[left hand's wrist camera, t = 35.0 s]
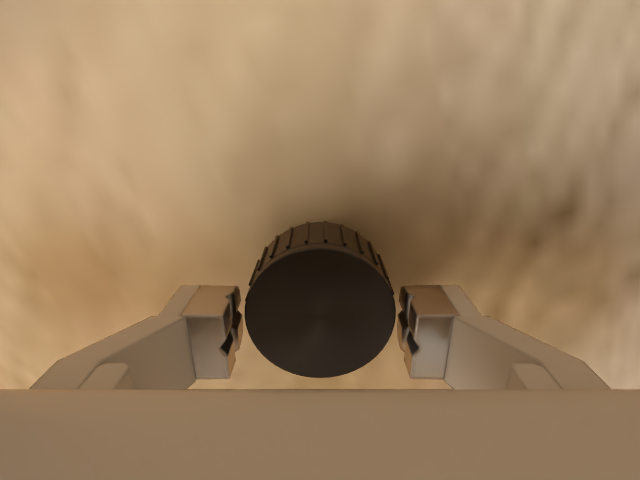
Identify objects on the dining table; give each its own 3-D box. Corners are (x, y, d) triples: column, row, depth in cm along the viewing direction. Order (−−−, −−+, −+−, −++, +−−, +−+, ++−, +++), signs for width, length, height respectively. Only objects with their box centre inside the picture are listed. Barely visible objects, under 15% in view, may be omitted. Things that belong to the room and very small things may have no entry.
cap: (250, 328, 12) (237, 371, 10) (260, 211, 10) (247, 236, 9) (371, 342, 12) (381, 387, 10) (397, 228, 11) (413, 257, 9)
